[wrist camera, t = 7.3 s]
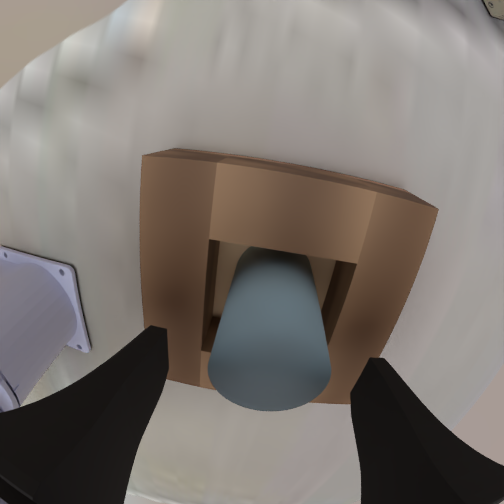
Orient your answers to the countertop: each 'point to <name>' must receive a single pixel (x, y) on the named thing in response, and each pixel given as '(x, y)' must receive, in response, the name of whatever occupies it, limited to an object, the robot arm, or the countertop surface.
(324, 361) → the peg
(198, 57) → the countertop surface
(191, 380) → the walnut holder
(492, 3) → the skincare box
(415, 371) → the countertop surface
